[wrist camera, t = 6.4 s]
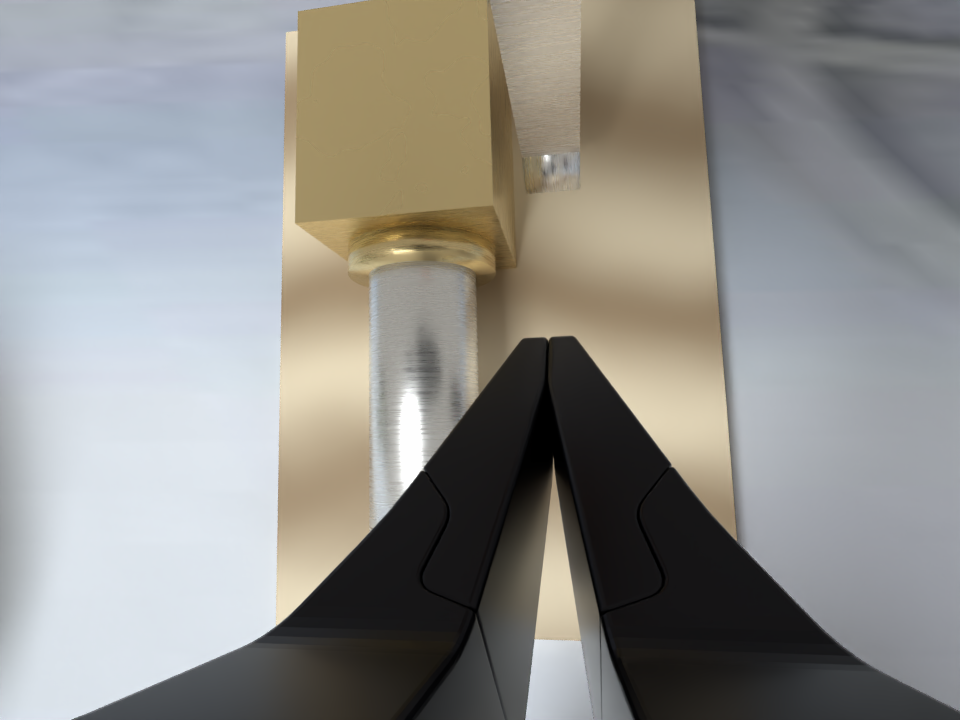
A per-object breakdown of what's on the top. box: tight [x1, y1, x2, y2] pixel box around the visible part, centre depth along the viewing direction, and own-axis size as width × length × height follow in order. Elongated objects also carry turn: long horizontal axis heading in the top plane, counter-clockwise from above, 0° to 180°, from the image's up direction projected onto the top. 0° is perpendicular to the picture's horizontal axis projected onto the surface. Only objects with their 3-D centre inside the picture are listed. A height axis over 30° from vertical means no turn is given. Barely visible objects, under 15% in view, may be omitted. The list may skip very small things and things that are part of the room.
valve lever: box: [490, 0, 581, 194], centre depth 12 cm, size 3×2×14 cm
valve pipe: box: [295, 0, 517, 532], centre depth 17 cm, size 20×5×6 cm, turn 1°
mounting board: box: [276, 0, 737, 641], centre depth 20 cm, size 22×15×1 cm
